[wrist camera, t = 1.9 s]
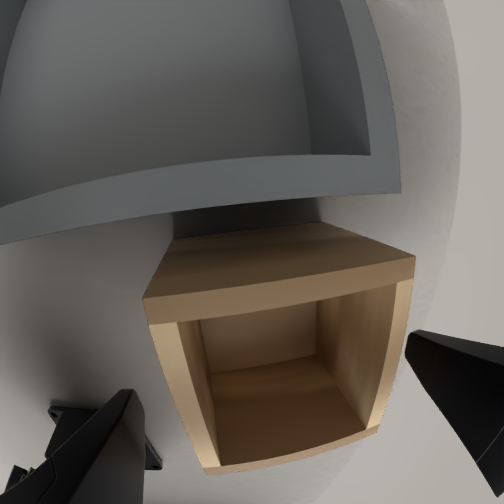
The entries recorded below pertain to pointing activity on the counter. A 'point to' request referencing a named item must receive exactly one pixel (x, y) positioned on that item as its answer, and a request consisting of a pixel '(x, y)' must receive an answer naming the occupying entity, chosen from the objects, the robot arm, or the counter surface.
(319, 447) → the oak crate
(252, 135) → the slate gray crate
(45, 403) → the counter surface
